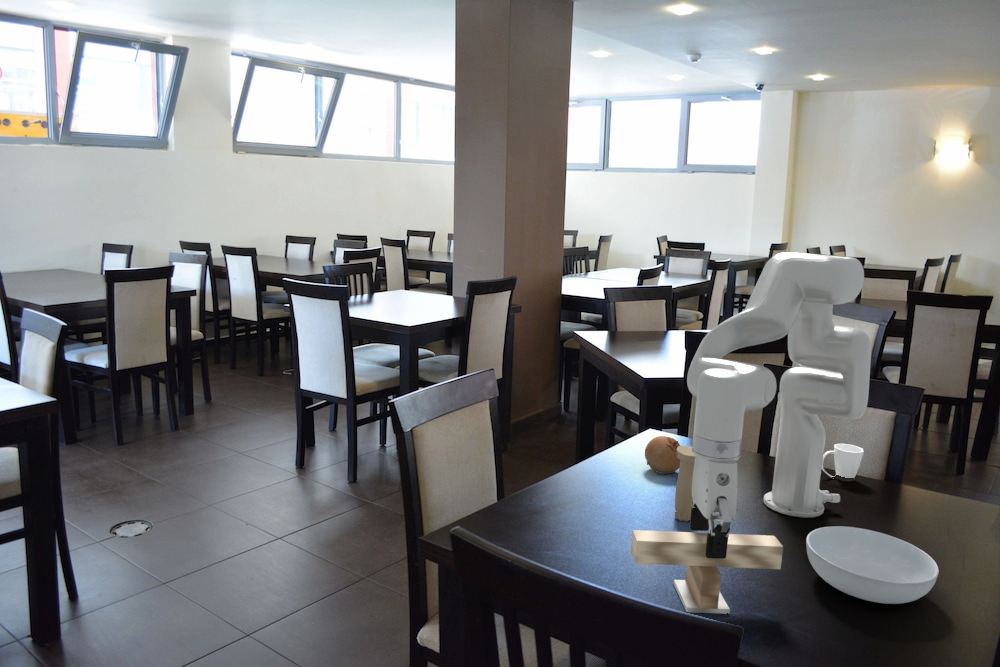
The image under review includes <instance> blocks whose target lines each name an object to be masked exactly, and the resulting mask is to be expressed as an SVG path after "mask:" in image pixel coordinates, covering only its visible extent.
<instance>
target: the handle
mask: <svg viewBox="0 0 1000 667" xmlns="http://www.w3.org/2000/svg"><path fill="white" fill-rule="evenodd" d="M676 455H677V458H678V459H680V467H679V469H678V474H677V475H678V476H677V480H676V481H677V482H676V488H675V498H674V510H675V512H674V517H675V519H677V520H678V521H680V522H688V521H689V520H690V518H691V508H694V507H692V499H693V498H692V478H693V470H694V462H695V456H696V455H694V454H693V453H692V445H680V446H678V447H677V451H676Z"/></svg>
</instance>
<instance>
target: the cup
mask: <svg viewBox="0 0 1000 667" xmlns="http://www.w3.org/2000/svg"><path fill="white" fill-rule="evenodd" d="M864 453H865V452H864V448H863V447H860V446H856V445H854V444H848V443H835V444H833V450H827V451H825V452H824V454H823V461H822V469H821V471H822V472H824V473H825V474H826V475H828V477H830V478H832V477H834V476H833V475H831V474H829V473H828V472H827V471H826V469H825V468H824V461H825V458H826V457H827V455H829V454H831V455H832V454H833V457H834V459H833V460H834V470H835V475H839V476H841V477H845V478H855V477H856V475H857V473H858V471H859V468H860V465H861V462H862V459H863V456H864Z"/></svg>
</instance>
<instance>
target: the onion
mask: <svg viewBox="0 0 1000 667" xmlns="http://www.w3.org/2000/svg"><path fill="white" fill-rule="evenodd" d="M678 446H681V444H680V443H679V441H678V440H676V439H675V438H673V437H669V436H666V435H665V436H663V435H661V436H660V435H659V436H656V437H654V438H652V439H651V440H650V441H649V442H648V443H647V444H646V446H645V450H644V458H645V460H646V465H647V466H649V468H650V469H651V470H653V471H654V472H655V473H657V474H662V475H664V474H665V475H666V474H667V475H669V474H673V473H675V472H676V471H677V470H678V471H679V467H680V459H678V458H677V455H676V451H677V447H678Z"/></svg>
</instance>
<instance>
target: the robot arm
mask: <svg viewBox="0 0 1000 667" xmlns="http://www.w3.org/2000/svg"><path fill="white" fill-rule="evenodd" d="M864 282H865V270H864V267H863V264H862V262H861V261H860V260H859V259H857V258H855V257H850V256H841V255H830V254H829V255H827V254H818V253H807V252H794V251H793V252H790V251H786V252H785V251H784V252H779V253H776V254H774V255H773V256H772V257H770V259H769V260H768V261H767V262H766V263H765V265H764V267H763V268H762V271H761V274H760V275H759V278H758V279H757V281H756V284H755V287H754V288H753V290H752V293H751V295H750V297H749V299H748V301H747V303H746V305H745V308H744V309H743V310H742V311H741V312H738V313H736V314H734V315H733V316H731V317H728V318H726V319H725V320H724V321H722V322H721V323H719V324H718V325H716V326H715V327H713V328H712V329H710V331H709V332H707V333H706V334H705V336H704V337H703V338H702V340H701V342H700V343H699V346H698V348H697V350H696V351H695V354H694V356H693V358H692V360H691V363H690V366H689V368H688V371H687V378H686V383H687V388H688V391H689V392H690V394H691V395H693V396H694V397H695V398H696V402H695V414H694V423H693V424H694V425H693V434H692V445H691V446H692V453H693V454H694V455H696V456H695V462H694V470H693V478H692V498H693V499H692V507H693V508H691V518H690V519H689V520H690V521H689V529H690V531H696V532H699V531H700V532H703V531H704V532H706V533H707V543H706V553H705V555H706V557H707V558H716V559H725V558H726V554H727V544H728V537H729V534H730V531H731V524H732V521H734V520H736V516H737V502H738V480H739V479H738V462H737V461H738V460H739V459H740V457H741V448H742V441H743V440H742V439H743V438H742V437H743V430H744V421H745V420H744V418H745V413H746V412H752V411H758V410H762V409H763V408H765V407H767V406H768V405H769V404H770V403H771V402H772V401H773V399H775V397H776V396H775V395H776V393H777V379H776V376H775V374H774V373H773V372H772V370H770V369H769V368H768V367H765V366H763V365H760V364H755V363H750V362H743V361H738V360H732V359H728V358H724V357H725V356H726V355H728V354H730V353H732V352H733V351H736V350H738V349H742V348H747V347H752V346H757V345H761V344H766V343H770V342H774V341H778V340H780V339H782V338H785V336H787V351H788V357H789V359H790V360H791V362H792V363H794V364H796V365H799V366H795V367H791V368H788V369H786V370H785V371H784V372H783V374H782V375H781V377H780V379H779V380H780V381H779V399H780V400H779V401H780V402H779V403H780V415H779V426H778V427H779V428H778V436H777V444H776V453H775V461H774V462H775V463H774V471H773V479H772V489H771V491H769V492H767V493H765V494H764V495H763V503H764V505H765V506H766V507H768V508H769V509H771V510H772V511H775V512H777V513H780V514H783V515H787V516H790V517H794V518H795V517H797V518H805V519H806V518H808V519H809V518H816V517H820V516H821V515H823V514H824V511H825V505H824V504H826V503H829V502H830V503H835V504H837V503H840V502H841V495H840V494H839V493H830V491H829V490H824V489H822V490H821V489H820V485H821V483H820V482H821V477H822V476H821V474H822V461H823V454H824V453H825V446H826V430H825V427H824V424H823V423H822V421H821V419H820V417H819V416H825V417H829V418H830V417H832V418H835V419H839V420H847V421H856V420H858V419H861V417H863V416H864V414H865V413H866V410H867V407H868V402H869V393H870V392H869V391H870V376H871V362H872V361H871V360H872V343H871V339H870V336H869V334H868V333H867V332H866V331H864V330H862V329H861V328H856V327H852V326H844V325H837V324H835V323H834V321H833V313H834V312H833V311H834V310H833V309H834V306H835V305H843V304H846V303H850V302H852V301H854V300H855V299H857V297H859V296H858V295H860V293H861V290H862V289H863V286H864ZM818 415H819V416H818ZM823 462H824V461H823ZM713 514H715V515H713ZM717 514H718V515H717ZM715 522H719V523H717V524H716V526H715ZM708 531H709V532H708ZM709 533H710V534H709Z"/></svg>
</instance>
